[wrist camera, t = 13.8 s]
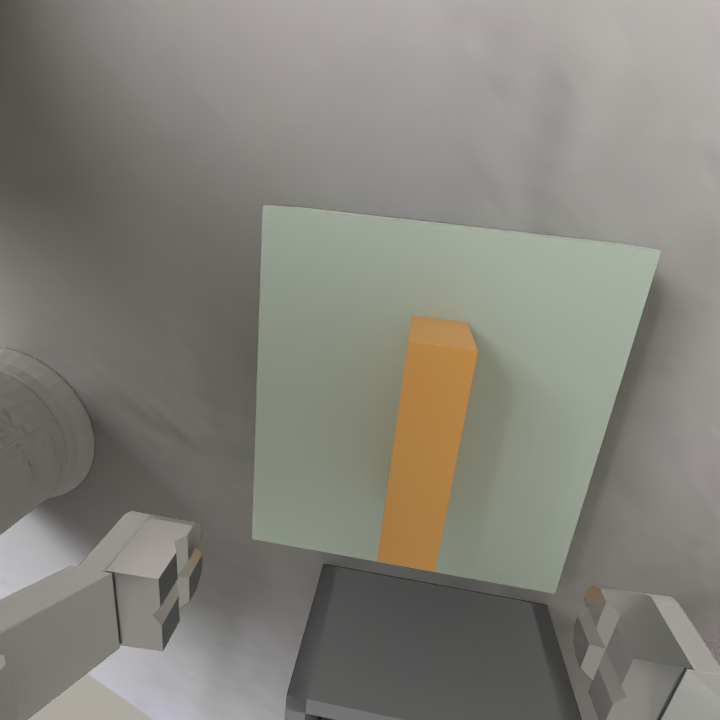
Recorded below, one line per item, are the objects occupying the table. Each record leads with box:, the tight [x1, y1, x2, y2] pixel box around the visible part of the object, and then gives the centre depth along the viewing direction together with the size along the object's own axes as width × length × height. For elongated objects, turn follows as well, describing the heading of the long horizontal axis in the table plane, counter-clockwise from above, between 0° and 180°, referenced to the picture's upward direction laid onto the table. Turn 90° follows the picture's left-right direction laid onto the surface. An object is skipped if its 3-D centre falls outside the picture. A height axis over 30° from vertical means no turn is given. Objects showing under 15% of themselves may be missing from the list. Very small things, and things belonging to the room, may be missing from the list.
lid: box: [252, 205, 662, 594], centre depth 18 cm, size 14×13×6 cm
